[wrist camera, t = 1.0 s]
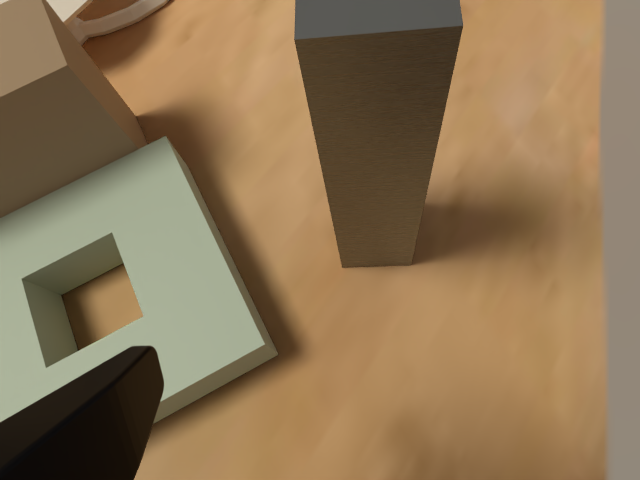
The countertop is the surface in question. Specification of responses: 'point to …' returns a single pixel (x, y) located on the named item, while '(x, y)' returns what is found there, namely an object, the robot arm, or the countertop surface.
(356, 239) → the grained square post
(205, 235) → the square holed base
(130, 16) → the hand towel holder
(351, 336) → the countertop surface
